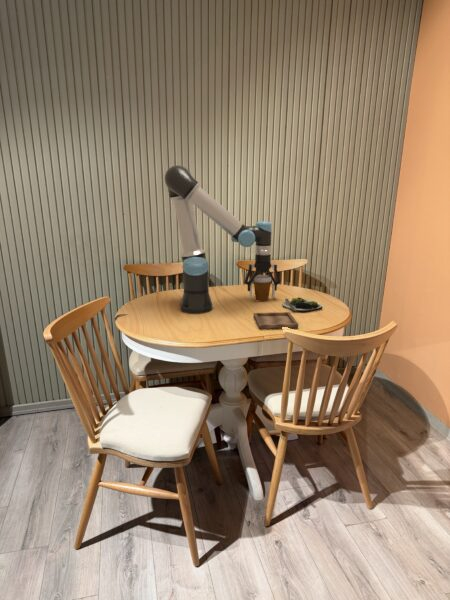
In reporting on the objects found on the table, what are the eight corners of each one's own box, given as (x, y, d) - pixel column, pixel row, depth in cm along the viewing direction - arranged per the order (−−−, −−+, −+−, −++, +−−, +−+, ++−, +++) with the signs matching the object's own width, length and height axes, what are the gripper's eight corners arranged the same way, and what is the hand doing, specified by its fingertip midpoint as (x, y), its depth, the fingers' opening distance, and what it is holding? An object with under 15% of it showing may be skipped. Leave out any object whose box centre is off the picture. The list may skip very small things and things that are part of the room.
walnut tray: (259, 329, 168) (259, 325, 167) (253, 317, 183) (253, 312, 183) (298, 328, 169) (298, 324, 168) (289, 316, 184) (289, 312, 184)
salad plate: (271, 304, 203) (272, 295, 202) (300, 299, 211) (301, 290, 210) (297, 315, 187) (297, 305, 185) (327, 309, 195) (327, 300, 194)
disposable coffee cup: (272, 302, 205) (272, 278, 202) (252, 302, 205) (253, 278, 202) (270, 297, 214) (271, 274, 211) (251, 297, 214) (252, 274, 211)
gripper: (240, 255, 199) (239, 299, 205) (288, 254, 200) (286, 298, 206) (238, 252, 206) (238, 295, 212) (284, 252, 207) (283, 294, 214)
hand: (261, 297), depth 209 cm, fingers open, 11 cm apart
